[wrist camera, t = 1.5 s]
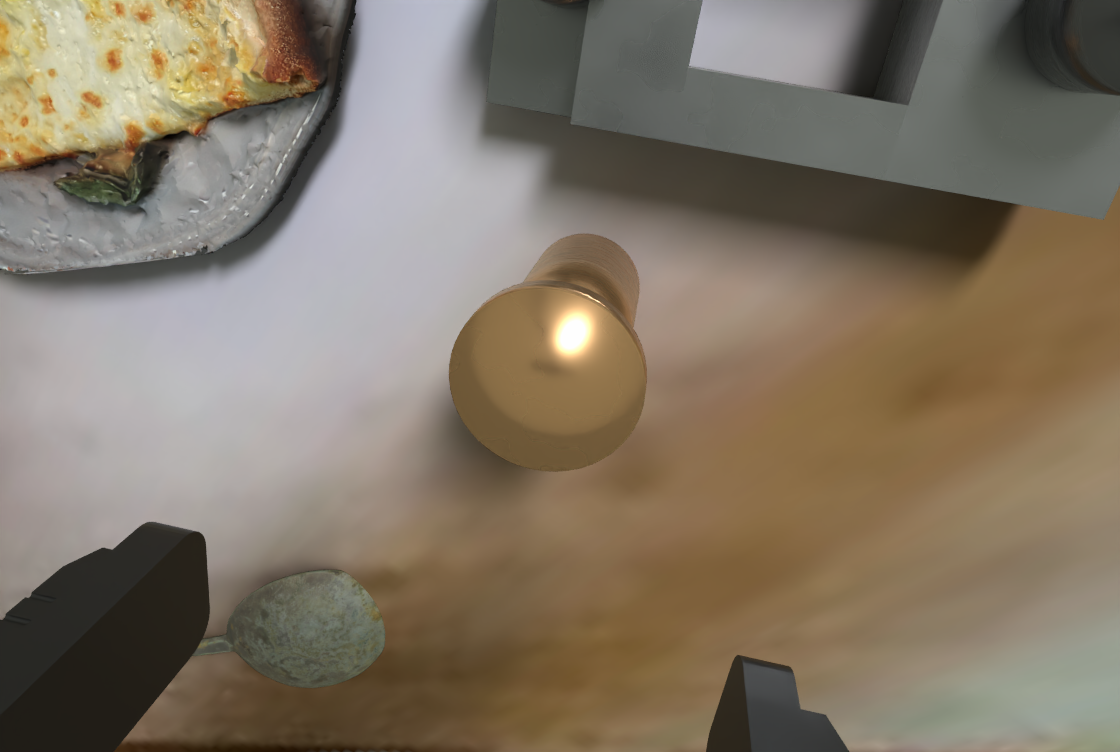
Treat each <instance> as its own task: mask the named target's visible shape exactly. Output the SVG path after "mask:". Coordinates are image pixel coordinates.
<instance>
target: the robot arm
mask: <svg viewBox="0 0 1120 752" xmlns="http://www.w3.org/2000/svg"><path fill="white" fill-rule="evenodd" d="M209 614H210V605H209V588H208V572H207V555H206V542H205V539H204V536H203V535H202V534H201V533H200V532H196V531H192V530H188V529H183V528H179V527H174V526H170V525H165V524H161V523H156V522H147V523H145V524H143V525H141V526H140V527H139V528H137V529H136V530H135V531H134V532H133V533H132V534H130V535H129V536H128V537H127V538H126V539H125V540H123V541H122V542H121V543H120V544H119V545H118V546H117V547H115V548H114V549H113V550H111V549H106V548H101V549H99V550H97V551H95V552H93V553H90V554H88V555H86V556H84V557H82V558H80V559H78V560H76V561H74V562H72V563H69V564H67V565H65V566H63V567H62V568H61V569H59V570H58V571H57V572H56V573H55V574H53V575H52V576H51V577H50V578H48V579H47V580H46V581H45V582H44V583H42V584H41V585H40V586H39V587H38V588H36V589H35V590H34V591H33V592H32V594H31V596H30V598H26V597H25V598H24V599H23V600H22V601H21V602H19V603H18V604H17V605H16V606H15V607H13V608H12V609H11V610H10V611H8V612H7V613H6V616H5V618H4V619H3V620H0V752H114V750H115V749H116V748H117V747H118V746H119V744H120V743H121V742H122V741H123V739H124V738H125V737H126V736H127V735H128V733H129V732H130V731H131V730H132V728H133V727H134V726H135V725H136V724H137V722H138V721H139V720H140V719H141V717H142V716H143V715H144V714H145V713H146V711H147V710H148V709H149V708H150V706H151V705H152V704H153V703H154V702H155V700H156V699H157V698H158V697H159V695H160V694H161V693H162V692H163V691H164V689H165V688H166V687H167V686H168V684H169V683H170V682H171V681H172V680H173V678H174V677H175V676H176V675H177V673H178V672H179V671H180V670H181V668H182V667H183V666H184V665H185V664H186V662H187V661H188V660H189V659H190V657H191V656H192V655H193V654H194V652H195V651H196V649H197V648H198V646H199V644H200V642H201V641H202V638H203V636H204V634H205V631H206V628H207V625H208V620H209ZM706 752H849V750H848V749H847V747H846V746H845V744H844V743H843V741H842V740H841V738H840V737H839V735H838V733H837V732H836V730H835V729H834V727H833V726H832V724H831V723H830V721H829V720H828V718H827V716H826V715H824V714H819V713H815V712H811V711H806V710H802V709H800V704H799V698H798V693H797V687H796V682H795V677H794V673H793V670H792V669H791V667H789V666H785V665H781V664H776V663H772V662H767V661H763V660H758V659H754V658H749V657H745V656H740V655H737V656H736V657H735V659H734V661H733V663H732V666H731V669H730V672H729V675H728V678H727V681H726V684H725V687H724V690H723V693H722V696H721V699H720V702H719V705H718V708H717V711H716V714H715V717H714V720H713V723H712V726H711V729H710V733H709V738H708V743H707V749H706Z"/></svg>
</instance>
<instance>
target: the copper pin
mask: <svg viewBox="0 0 1120 752" xmlns="http://www.w3.org/2000/svg"><path fill="white" fill-rule="evenodd" d="M638 298H639V277H638V273H637V270H636V268H635V265H634V263H633V261H632V260H631V258H630V257H629V255H628V254H627V253H626V252H625V251H624V250H623V249H622V248H621V247H620V246H619V245H617V244H616V243H614V242H613V241H611V240H609V239H607V238H604V237H602V236H598V235H593V234H576V235H571V236H567V237H565V238H562V239H560V240H558V241H557V242H555V243H554V244H552V245H551V246H550V247H549V248H548V249H547V250H546V251H545V252H544V253H543V255H542V256H541V257H540V259H539V260H538V262H537V263H536V264H535V266H534V267H533V269H532V270H531V272H530V273H529V275H528V276H527V277H526V279H525V280H524V282H523V283H521V284H517V285H514V286H511V287H509V288H506V289H504V290H502V291H500V292H499V293H497V294H495V295H494V296H492V297H491V298H490V299H488V300H487V301H486V302H485V303H483V304H482V305H481V306H480V307H479V309H478V310H477V311H476V312H475V313H474V314H473V315H472V317H471V318H470V319H469V320H468V322H467V323H466V324H465V326H464V327H463V329H462V330H461V332H460V334H459V336H458V338H457V340H456V342H455V344H454V347H453V350H452V353H451V359H450V364H449V382H450V390H451V394H452V398H453V401H454V404H455V406H456V409H457V411H458V413H459V415H460V417H461V419H462V421H463V422H464V424H465V425H466V426H467V428H468V429H469V431H470V432H471V433H472V434H473V435H474V436H475V437H476V439H477V440H478V441H479V442H481V443H482V444H483V445H484V446H485V447H486V448H487V449H489V450H490V451H492V452H493V453H495V454H496V455H498V456H499V457H501V458H503V459H505V460H507V461H509V462H511V463H514V464H516V465H519V466H522V467H526V468H529V469H534V470H540V471H554V472H557V471H569V470H574V469H579V468H583V467H586V466H589V465H592V464H594V463H596V462H598V461H600V460H602V459H604V458H605V457H607V456H608V455H610V454H612V453H613V452H614V451H615V450H616V449H618V448H619V447H620V446H621V445H622V444H623V443H624V442H625V440H626V439H627V438H628V437H629V436H630V434H631V433H632V431H633V430H634V428H635V426H636V424H637V422H638V420H639V418H640V415H641V412H642V409H643V406H644V399H645V392H646V382H647V368H646V360H645V355H644V352H643V348H642V345H641V343H640V340H639V338H638V336H637V334H636V332H635V331H634V329H633V327H634V321H635V315H636V309H637V304H638Z"/></svg>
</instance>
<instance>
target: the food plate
mask: <svg viewBox="0 0 1120 752" xmlns="http://www.w3.org/2000/svg"><path fill="white" fill-rule="evenodd" d="M355 5H356V0H0V270H2V269H3V270H6V271H13V272H15V271H18V270H17V269H19V270H21V271H23V270H24V271H25V270H27V269H28V270H29V271H41V272H29V273H27V272H26V273H22V275H25V274H27V275H28V274H39V273H48V272H58V271H68V270H77V269H86V268H93V267H106V266H112V265H121V264H129V263H138V262H147V261H155V260H163V259H155V258H158V257H159V258H164V259H170V258H173V257H174V258H179V256H178V254H179V255H184V254H185V256H182V257H186V256H194V255H193V254H195V253H196V251H197V250H199V251H200V252H202V251H201V248H205V249H207V250H208V251H207V252H206V253H204V254H210V253H213V251H217V250H218V249H220V248H222V246H227V244H230V243H232V242H235V241H237V240H238V238H242V237H244V236H247V234H249V233H250V232H251V231H252V230H253V228H254V227H256V226H257V225H259V224H260V223H261V222H262V221H264V220H265V218H267V217H268V215H269V213H270V212H272V210H273V209H274V207H275V206H276V205H277V204H278V203H279V202H280V201H282V200H283V194H284V193H286V190H287V189H288V187H289V186H290V184H291V181H292V177H295V176H296V174H297V171H298V168H299V167H300V165H301V162H302V161H303V159H304V158H305V156H306V155H307V151H308V150H309V149H310V148H311V146H312V142H314V140H315V139H316V135H319V134H320V133H321V129H320V128H321V127H322V126H323V125H325V121H326V120H327V119H328V118H329V117H330V112H332V110H333V109H334V107H335V106H336V104H337V103H336V102H337V101H338V100H337V98H338V97H339V96H340V95H339V92H340V90H341V88H340V81H341V76H342V72H341V71H342V66H343V65H342V63H341V59H343V56H344V54H343V50H345V47H346V44H347V40H348V36H349V33H350V30H349V29H351V26H352V25H353V20H354V18H355V16H356V13H355ZM350 34H351V33H350ZM201 255H202V254H201ZM151 258H153V260H151ZM149 259H150V260H149ZM68 268H72V269H68ZM32 269H34V270H32ZM56 269H64V270H56ZM47 270H55V271H47ZM19 274H21V273H19Z"/></svg>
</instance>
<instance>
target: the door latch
mask: <svg viewBox="0 0 1120 752" xmlns="http://www.w3.org/2000/svg"><path fill="white" fill-rule="evenodd" d="M701 5H702V0H497V7H496V16H495V26H494V35H493V45H492V54H491V63H490V73H489V82H488V91H487V101H486V102H489V103H495V104H500V105H506V106H511V107H517V108H523V109H528V110H534V111H539V112H545V113H551V114H556V115H562V116H567V117H571V123H570V124H574V125H579V126H585V127H591V128H596V129H602V130H607V131H613V132H618V133H624V134H630V135H635V136H641V137H646V138H652V139H657V140H663V141H668V142H674V143H680V144H685V145H691V146H696V147H702V148H707V149H713V150H719V151H724V152H730V153H735V154H741V155H746V156H752V157H758V158H763V159H769V160H774V161H780V162H785V163H791V164H797V165H802V166H808V167H813V168H819V169H824V170H830V171H836V172H841V173H847V174H852V175H858V176H863V177H869V178H874V179H880V180H886V181H891V182H897V183H902V184H908V185H913V186H919V187H925V188H930V189H936V190H941V191H947V192H952V193H958V194H964V195H969V196H975V197H980V198H986V199H991V200H997V201H1003V202H1008V203H1014V204H1019V205H1025V206H1030V207H1036V208H1041V209H1047V210H1053V211H1058V212H1064V213H1069V214H1075V215H1080V216H1086V217H1092V218H1097V219H1103V220H1104V218H1105V215H1106V213H1107V211H1108V209H1109V207H1110V205H1111V203H1112V200H1113V198H1114V196H1115V194H1116V192H1117V190H1118V187H1119V185H1120V0H904V1H903V4H902V7H901V11H900V14H899V17H898V20H897V23H896V27H895V30H894V33H893V36H892V39H891V43H890V46H889V49H888V52H887V55H886V59H885V62H884V65H883V68H882V71H881V75H880V78H879V81H878V84H877V87H876V91H875V94H874V97H873V98H871V97H865V96H859V95H853V94H848V93H842V92H836V91H830V90H824V89H819V88H813V87H807V86H801V85H795V84H789V83H784V82H778V81H772V80H766V79H760V78H755V77H749V76H743V75H737V74H731V73H725V72H720V71H714V70H708V69H702V68H696V67H691V66H689V62H690V57H691V53H692V48H693V43H694V38H695V34H696V29H697V24H698V19H699V15H700V10H701Z"/></svg>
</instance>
